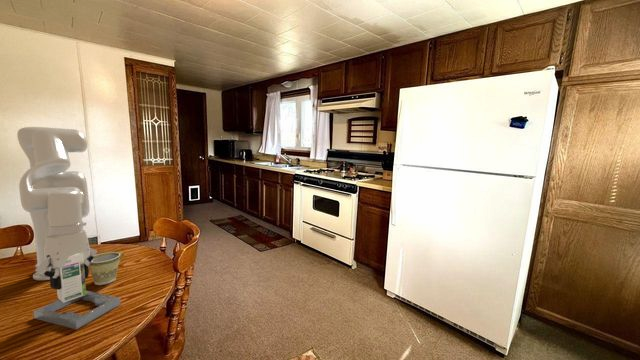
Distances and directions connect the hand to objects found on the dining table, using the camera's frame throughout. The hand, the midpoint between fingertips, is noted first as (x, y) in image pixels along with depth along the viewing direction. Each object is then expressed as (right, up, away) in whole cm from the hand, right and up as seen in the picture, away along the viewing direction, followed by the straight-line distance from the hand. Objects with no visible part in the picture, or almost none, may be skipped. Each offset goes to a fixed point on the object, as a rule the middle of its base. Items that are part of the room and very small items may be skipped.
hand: (70, 282), depth 84 cm
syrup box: (0, -5, 0) cm, 5 cm away
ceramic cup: (-5, -7, +21) cm, 23 cm away
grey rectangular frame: (+2, -10, 0) cm, 10 cm away
